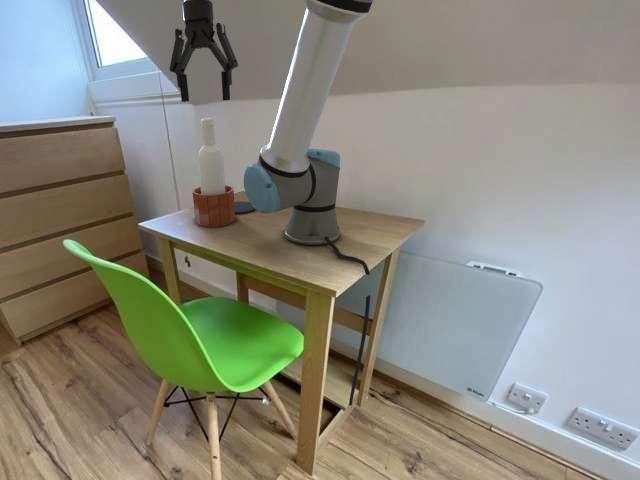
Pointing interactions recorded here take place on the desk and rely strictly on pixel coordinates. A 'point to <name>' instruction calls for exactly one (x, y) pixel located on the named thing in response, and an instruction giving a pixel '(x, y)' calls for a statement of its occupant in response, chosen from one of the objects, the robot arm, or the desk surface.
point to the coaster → (243, 207)
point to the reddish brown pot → (214, 208)
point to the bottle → (210, 161)
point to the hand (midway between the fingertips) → (205, 101)
